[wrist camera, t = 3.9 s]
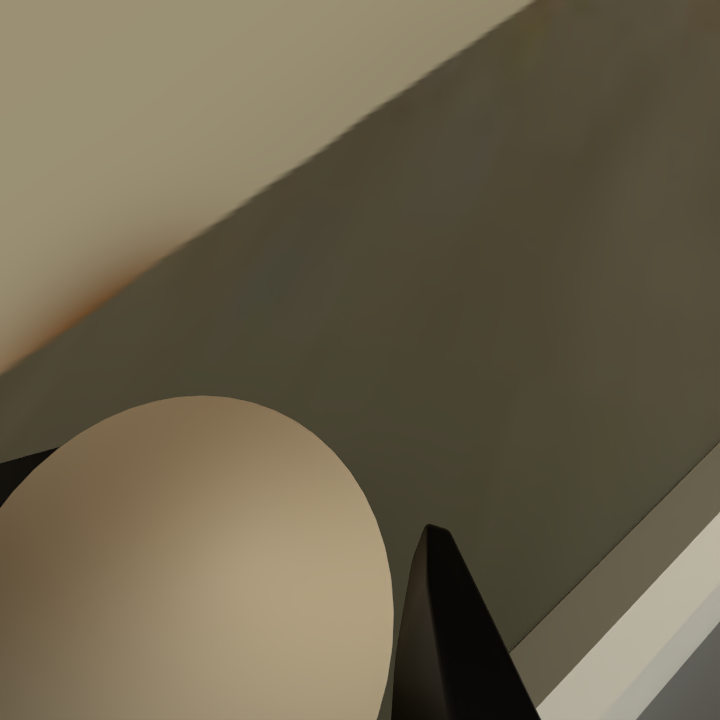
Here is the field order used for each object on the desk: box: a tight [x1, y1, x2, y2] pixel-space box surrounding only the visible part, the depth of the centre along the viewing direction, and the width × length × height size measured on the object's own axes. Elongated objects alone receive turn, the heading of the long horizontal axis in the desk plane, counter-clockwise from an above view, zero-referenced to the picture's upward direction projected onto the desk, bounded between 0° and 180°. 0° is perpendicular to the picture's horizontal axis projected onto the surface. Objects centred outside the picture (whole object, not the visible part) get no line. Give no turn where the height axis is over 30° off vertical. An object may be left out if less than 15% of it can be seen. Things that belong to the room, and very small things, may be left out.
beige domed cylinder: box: [0, 396, 394, 720], centre depth 9 cm, size 4×4×10 cm
